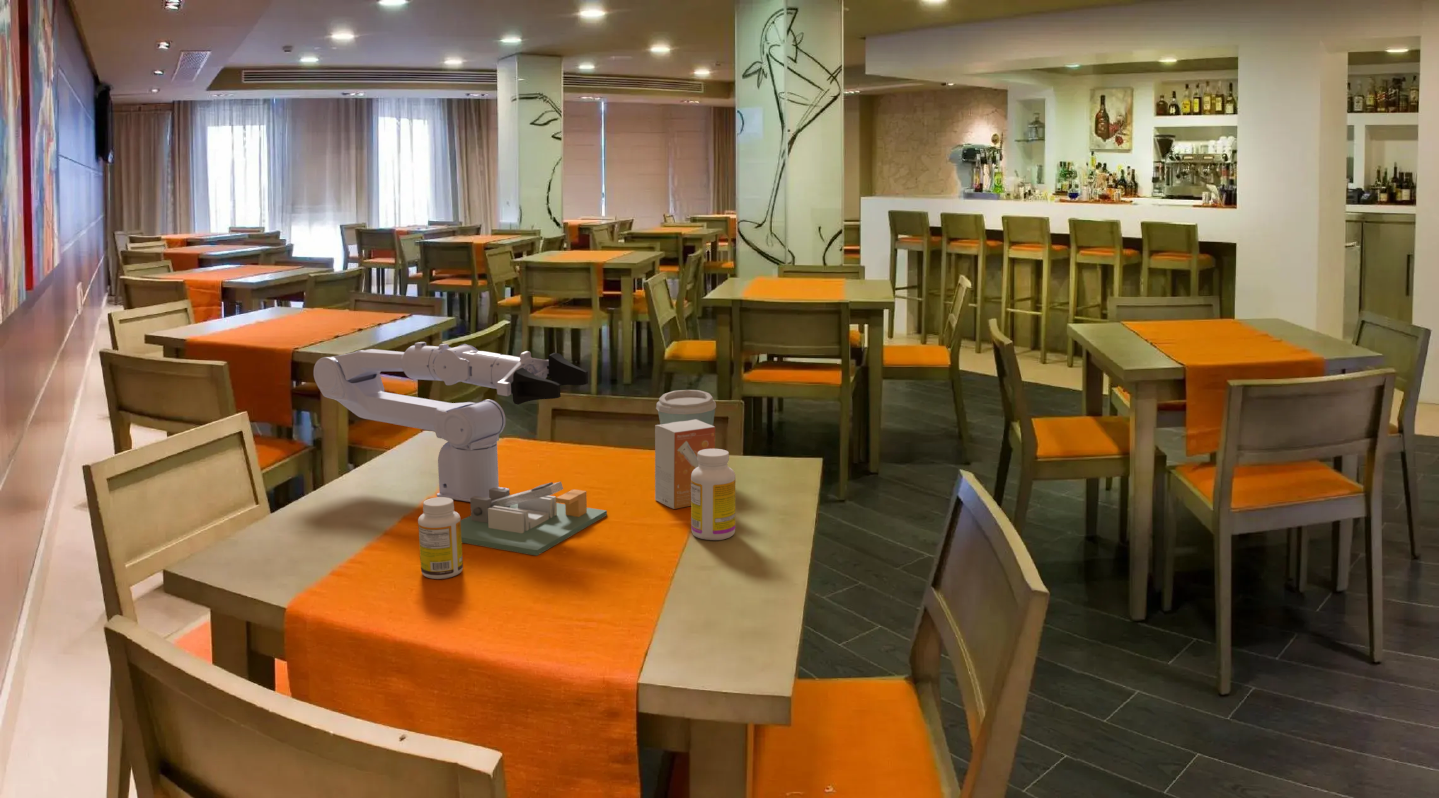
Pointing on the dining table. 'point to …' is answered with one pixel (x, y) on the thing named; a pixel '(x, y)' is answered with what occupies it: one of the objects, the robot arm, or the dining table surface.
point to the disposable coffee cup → (686, 406)
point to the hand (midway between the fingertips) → (573, 384)
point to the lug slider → (574, 502)
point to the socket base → (522, 523)
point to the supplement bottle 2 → (713, 496)
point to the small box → (679, 459)
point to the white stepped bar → (528, 495)
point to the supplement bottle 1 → (440, 539)
